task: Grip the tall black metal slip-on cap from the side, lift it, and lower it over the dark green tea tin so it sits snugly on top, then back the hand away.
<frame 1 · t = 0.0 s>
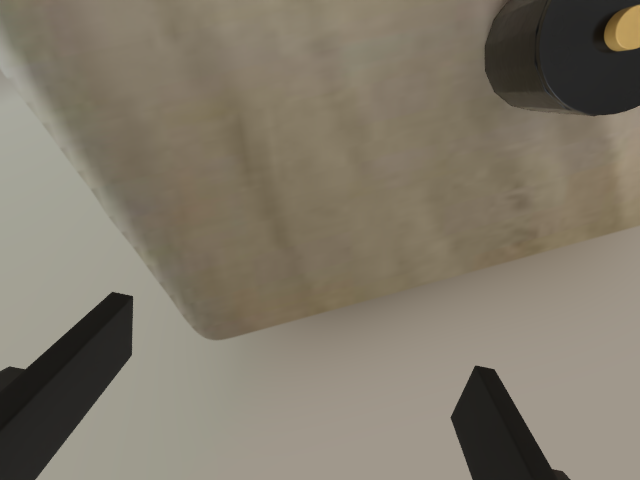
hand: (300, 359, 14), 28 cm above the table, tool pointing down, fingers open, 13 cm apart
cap: (545, 47, 34), on the table
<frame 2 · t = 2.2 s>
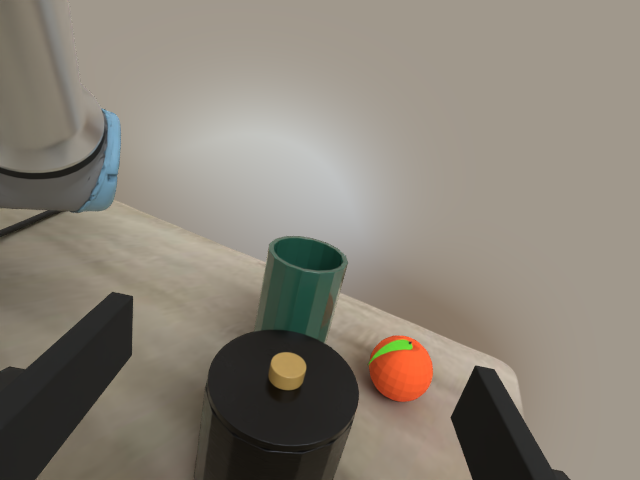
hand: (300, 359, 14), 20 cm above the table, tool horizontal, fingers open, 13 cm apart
clementine: (387, 392, 42), on the table
tin: (284, 358, 43), on the table
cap: (264, 467, 31), on the table
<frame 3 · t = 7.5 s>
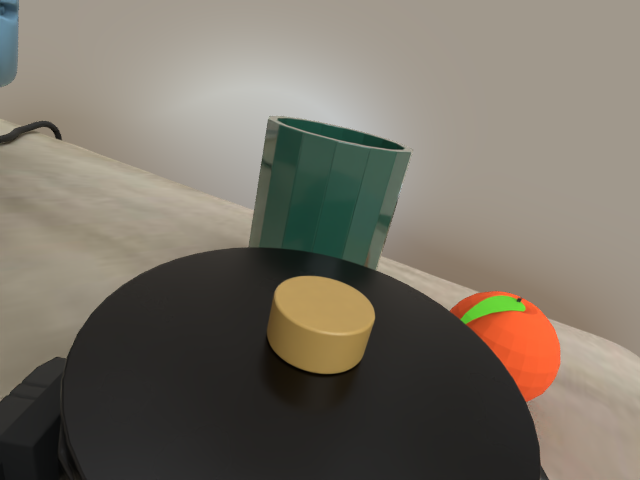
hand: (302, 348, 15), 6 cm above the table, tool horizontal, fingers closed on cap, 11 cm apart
clementine: (469, 389, 25), on the table
tin: (295, 333, 26), on the table
when the fingers open (11 cm above the table, at t = 17.4 s): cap stays where it is, resting on tin.
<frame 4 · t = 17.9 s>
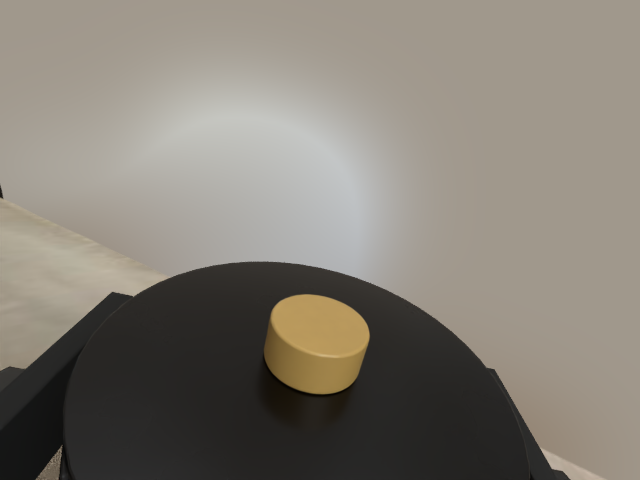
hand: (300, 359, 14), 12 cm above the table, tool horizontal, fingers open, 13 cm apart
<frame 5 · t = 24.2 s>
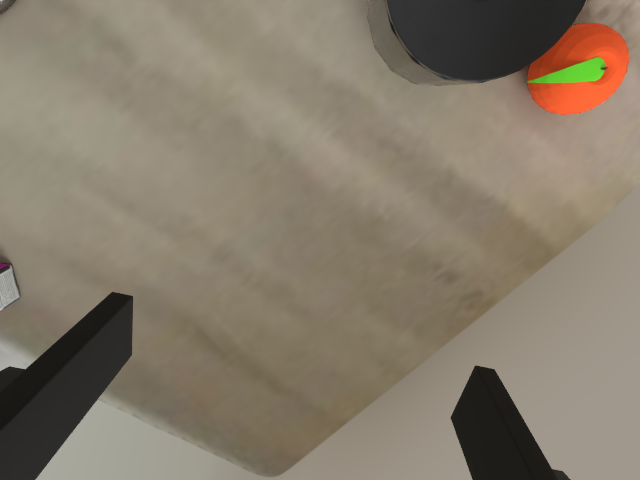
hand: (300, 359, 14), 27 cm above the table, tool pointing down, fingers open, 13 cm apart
clementine: (545, 74, 34), on the table
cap: (439, 7, 28), point 5 cm above the table, touching tin
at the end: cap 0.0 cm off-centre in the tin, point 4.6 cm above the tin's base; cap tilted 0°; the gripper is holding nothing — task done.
